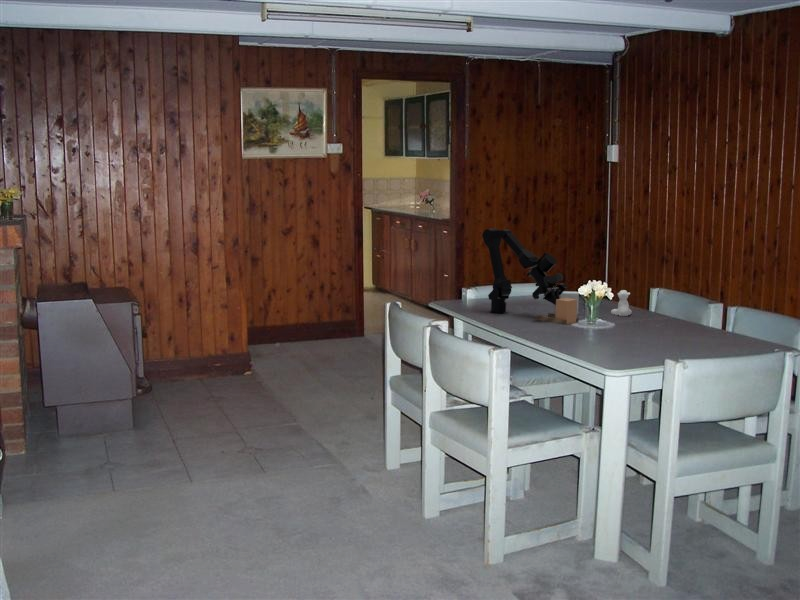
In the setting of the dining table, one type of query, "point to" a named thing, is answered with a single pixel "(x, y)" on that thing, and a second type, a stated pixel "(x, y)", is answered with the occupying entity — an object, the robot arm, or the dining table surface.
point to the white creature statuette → (622, 304)
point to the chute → (553, 319)
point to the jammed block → (566, 309)
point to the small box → (571, 296)
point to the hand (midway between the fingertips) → (560, 306)
